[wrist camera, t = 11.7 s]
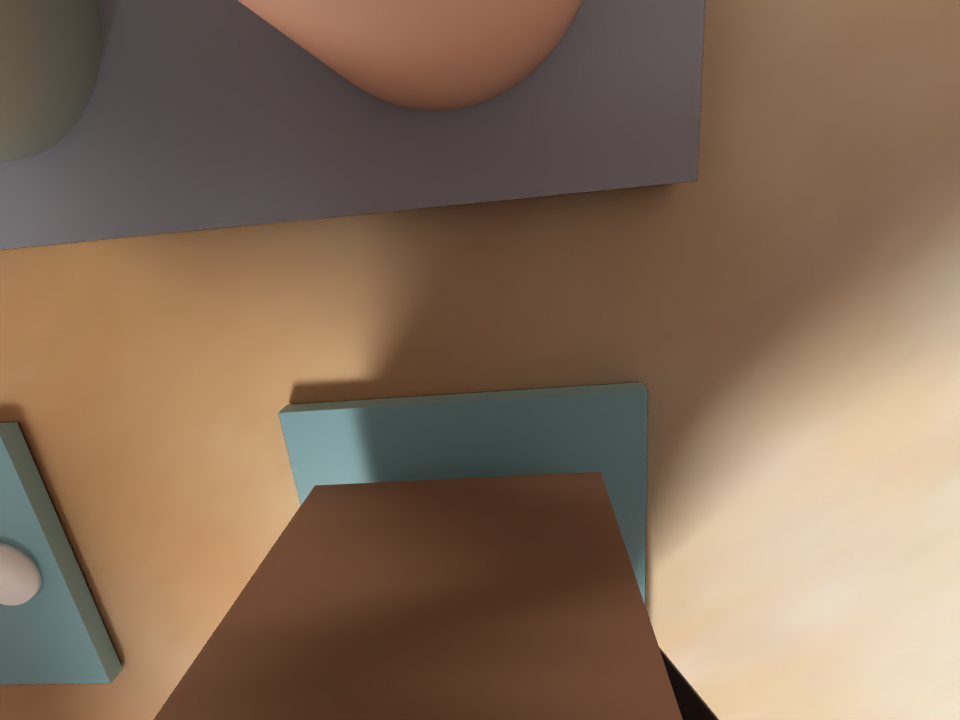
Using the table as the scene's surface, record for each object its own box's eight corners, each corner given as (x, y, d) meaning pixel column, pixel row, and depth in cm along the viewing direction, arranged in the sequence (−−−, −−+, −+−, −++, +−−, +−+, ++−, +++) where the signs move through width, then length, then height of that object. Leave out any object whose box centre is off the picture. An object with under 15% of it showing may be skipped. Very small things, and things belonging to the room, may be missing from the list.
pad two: (639, 661, 11) (645, 685, 11) (348, 665, 12) (340, 688, 11) (642, 381, 9) (651, 394, 9) (287, 405, 10) (273, 417, 9)
